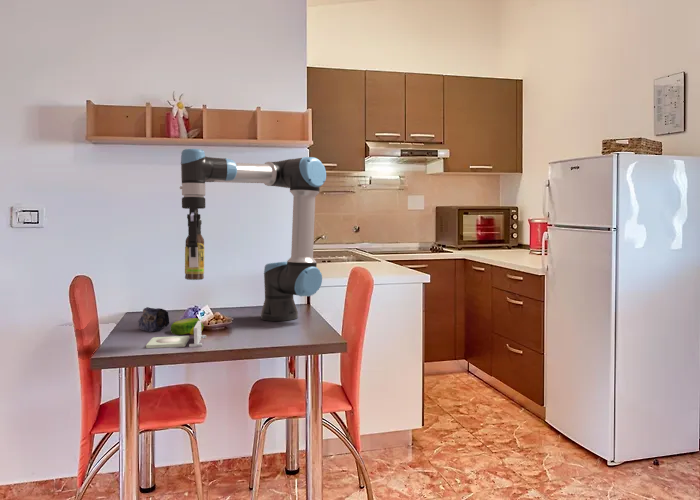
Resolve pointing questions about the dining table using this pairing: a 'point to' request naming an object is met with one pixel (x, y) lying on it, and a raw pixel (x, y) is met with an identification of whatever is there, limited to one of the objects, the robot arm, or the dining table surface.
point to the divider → (197, 335)
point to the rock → (153, 319)
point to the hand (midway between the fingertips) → (194, 266)
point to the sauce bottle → (198, 272)
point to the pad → (168, 342)
